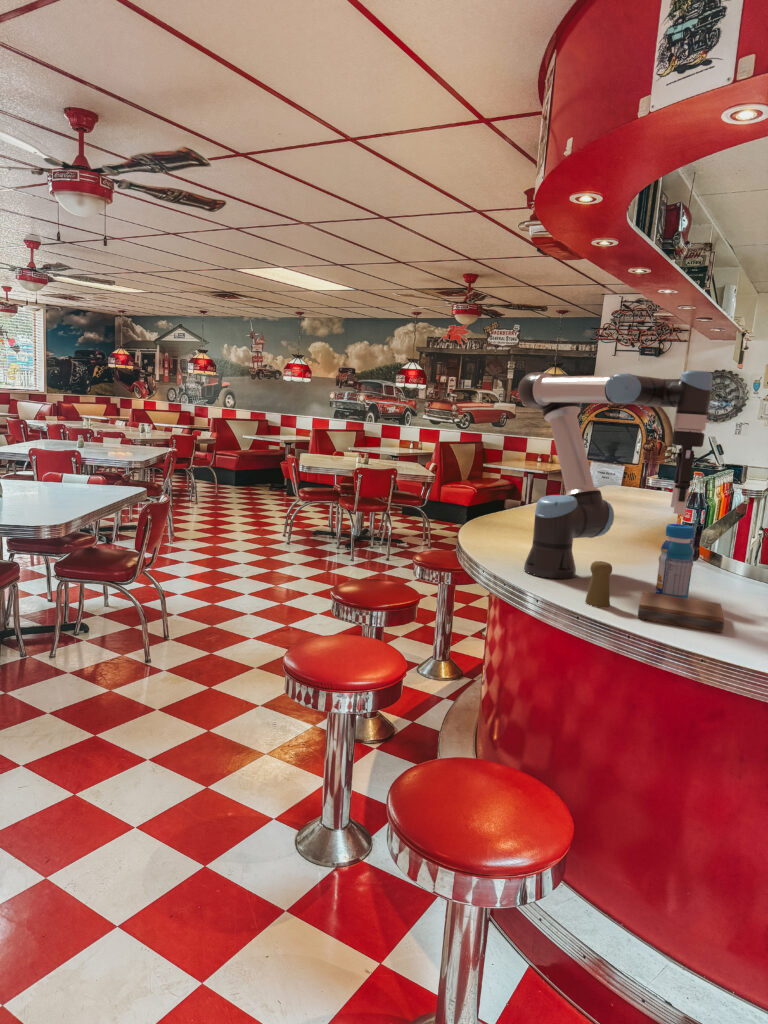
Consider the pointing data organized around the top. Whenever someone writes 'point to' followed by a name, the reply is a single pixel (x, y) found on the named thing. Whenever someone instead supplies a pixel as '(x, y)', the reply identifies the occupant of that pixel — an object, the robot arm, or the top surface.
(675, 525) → the beverage bottle
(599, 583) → the cork
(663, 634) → the top surface
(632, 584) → the top surface
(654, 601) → the wooden block
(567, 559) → the robot arm
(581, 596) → the top surface
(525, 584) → the top surface
